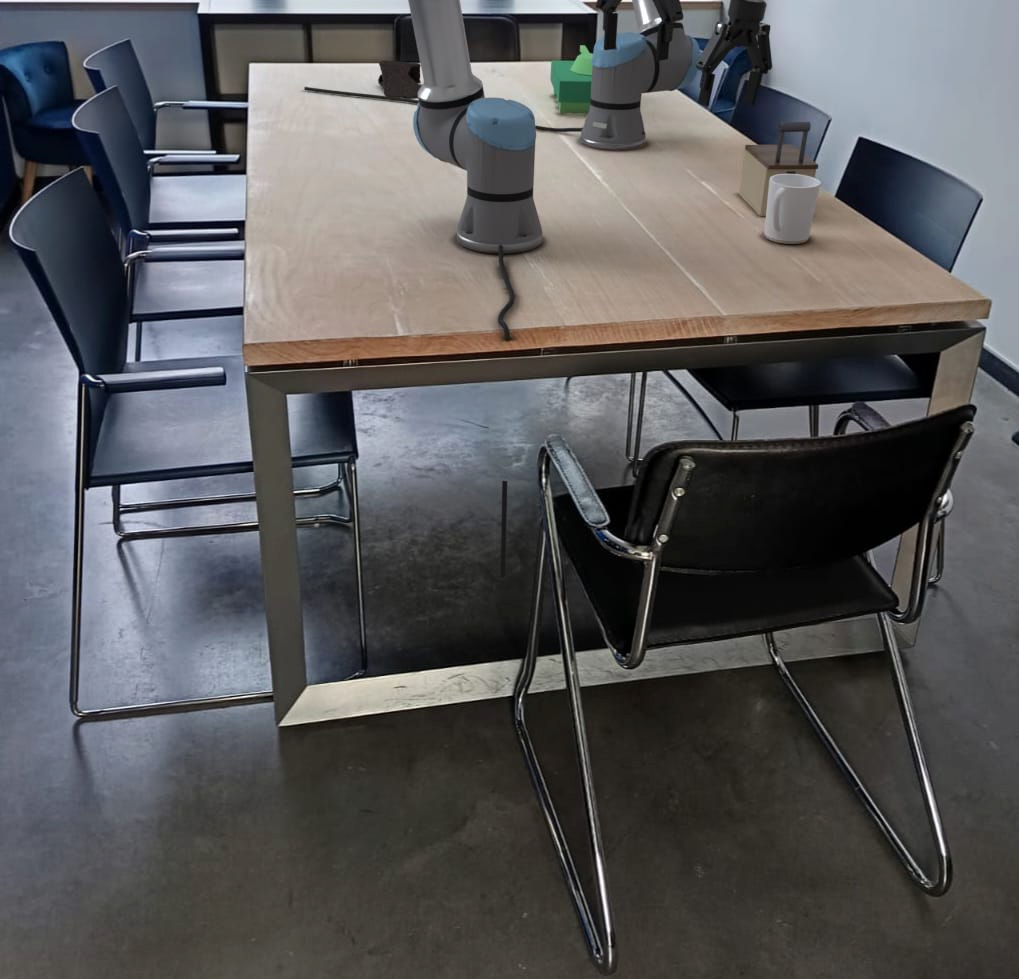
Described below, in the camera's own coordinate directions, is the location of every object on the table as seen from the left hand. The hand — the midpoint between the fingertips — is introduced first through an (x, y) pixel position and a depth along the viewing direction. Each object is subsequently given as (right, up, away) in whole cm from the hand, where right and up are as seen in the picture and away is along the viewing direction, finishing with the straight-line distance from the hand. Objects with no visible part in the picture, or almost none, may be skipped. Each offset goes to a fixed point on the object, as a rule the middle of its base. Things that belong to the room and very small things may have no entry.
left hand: (635, 54), depth 212 cm
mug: (+26, -39, -12) cm, 48 cm away
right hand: (+23, -1, +25) cm, 34 cm away
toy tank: (-4, +20, +82) cm, 84 cm away
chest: (+28, -28, +6) cm, 40 cm away
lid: (+28, -20, +1) cm, 35 cm away
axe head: (-53, +25, +89) cm, 106 cm away
